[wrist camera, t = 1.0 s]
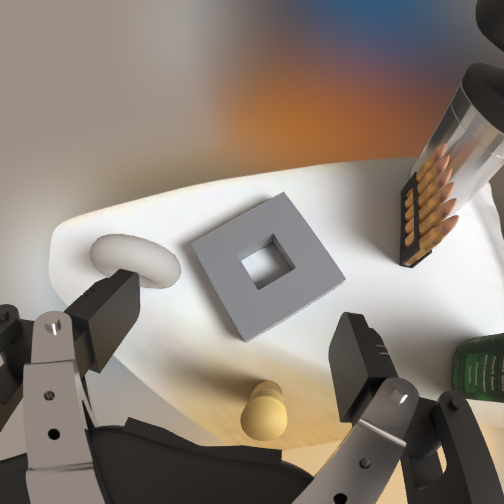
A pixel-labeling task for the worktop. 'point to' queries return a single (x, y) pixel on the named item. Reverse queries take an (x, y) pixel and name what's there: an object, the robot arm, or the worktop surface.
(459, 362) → the coffee jar
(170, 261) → the donut
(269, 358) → the worktop surface
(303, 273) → the socket block
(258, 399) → the dowel
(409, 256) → the ammunition clip
